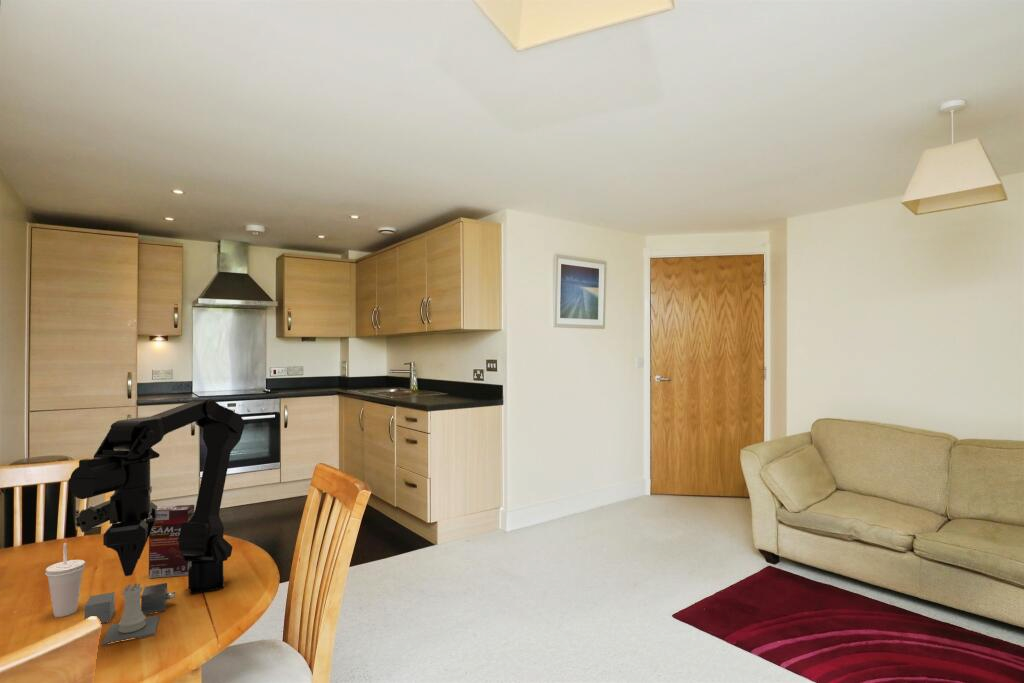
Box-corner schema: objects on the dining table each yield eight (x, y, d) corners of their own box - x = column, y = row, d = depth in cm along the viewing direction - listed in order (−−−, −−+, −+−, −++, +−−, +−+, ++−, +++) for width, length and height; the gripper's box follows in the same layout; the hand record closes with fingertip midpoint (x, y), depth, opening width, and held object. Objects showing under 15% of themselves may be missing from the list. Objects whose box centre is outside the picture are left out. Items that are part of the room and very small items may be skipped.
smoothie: (80, 602, 117) (80, 536, 117) (89, 611, 113) (89, 542, 113) (41, 614, 112) (42, 545, 112) (49, 623, 108) (49, 551, 108)
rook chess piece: (151, 622, 106) (151, 581, 107) (136, 634, 102) (136, 591, 102) (128, 623, 106) (128, 581, 107) (112, 634, 102) (112, 591, 102)
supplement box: (147, 579, 129) (147, 511, 129) (156, 571, 133) (156, 506, 134) (187, 575, 130) (187, 509, 131) (195, 568, 135) (195, 503, 135)
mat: (159, 617, 109) (159, 615, 110) (154, 635, 102) (154, 632, 102) (110, 626, 106) (110, 624, 106) (102, 646, 99) (102, 643, 99)
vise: (176, 600, 117) (176, 581, 117) (173, 609, 113) (173, 589, 113) (90, 616, 110) (90, 596, 111) (84, 626, 106) (84, 606, 106)
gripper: (91, 481, 110) (91, 559, 109) (66, 502, 93) (66, 595, 93) (157, 474, 115) (157, 549, 114) (144, 494, 98) (145, 581, 98)
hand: (132, 567), depth 105 cm, fingers open, 9 cm apart
